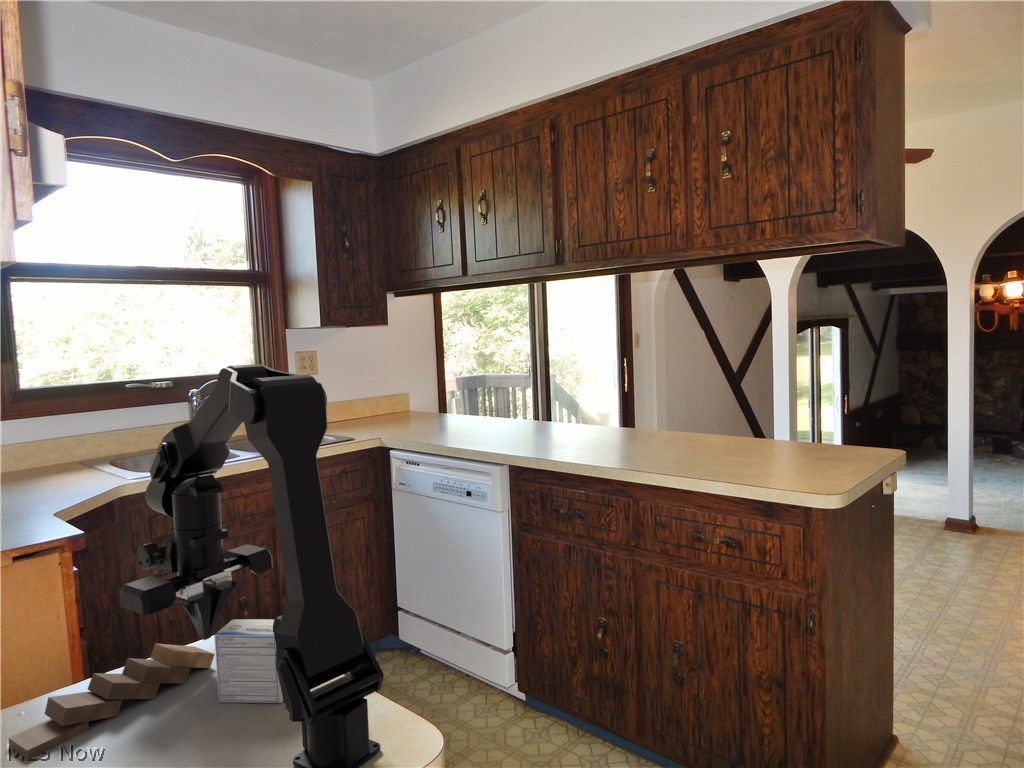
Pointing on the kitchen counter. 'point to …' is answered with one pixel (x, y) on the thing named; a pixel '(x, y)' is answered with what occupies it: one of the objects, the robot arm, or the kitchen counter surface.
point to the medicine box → (247, 662)
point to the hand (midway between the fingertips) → (205, 638)
